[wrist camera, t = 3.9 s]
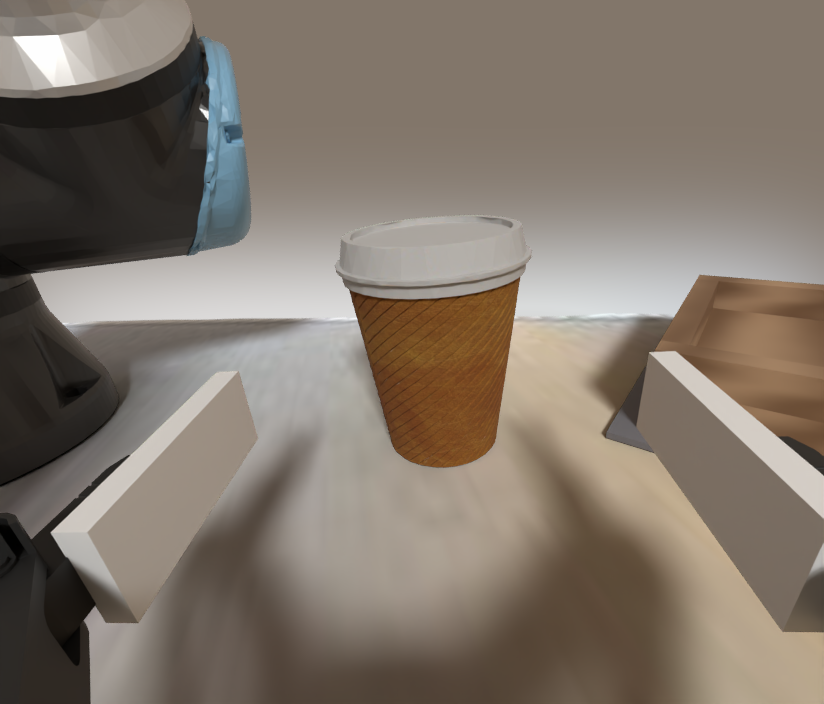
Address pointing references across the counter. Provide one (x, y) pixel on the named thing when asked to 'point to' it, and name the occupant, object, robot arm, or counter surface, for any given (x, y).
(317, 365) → the counter surface
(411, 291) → the disposable coffee cup
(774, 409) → the crate
